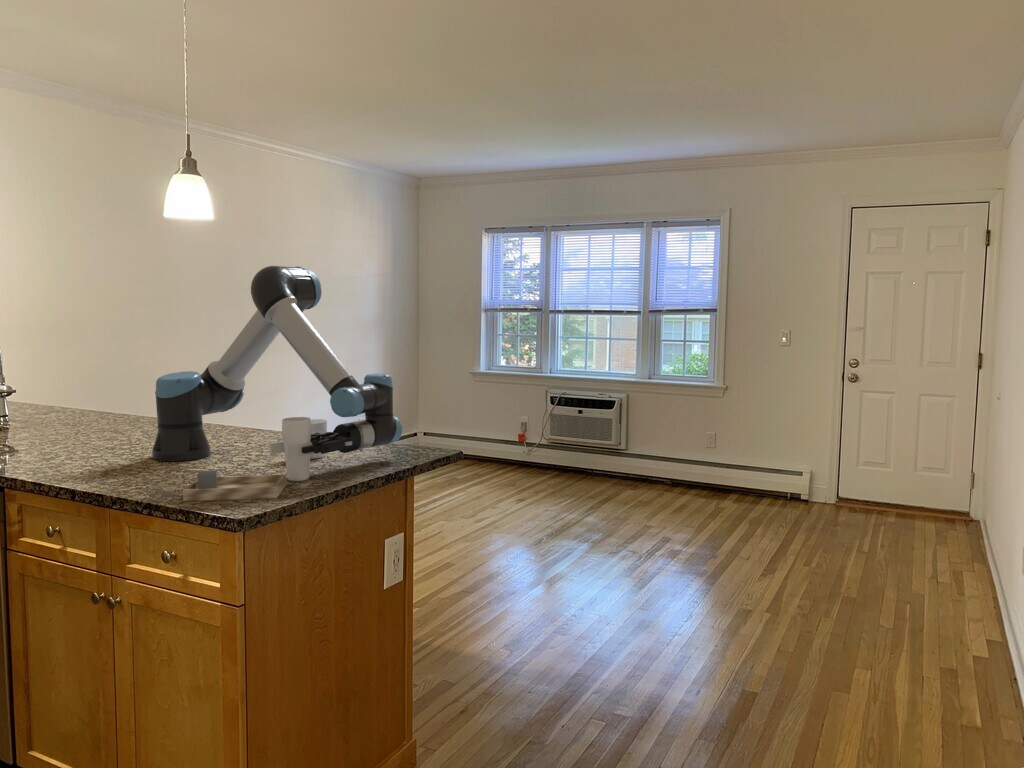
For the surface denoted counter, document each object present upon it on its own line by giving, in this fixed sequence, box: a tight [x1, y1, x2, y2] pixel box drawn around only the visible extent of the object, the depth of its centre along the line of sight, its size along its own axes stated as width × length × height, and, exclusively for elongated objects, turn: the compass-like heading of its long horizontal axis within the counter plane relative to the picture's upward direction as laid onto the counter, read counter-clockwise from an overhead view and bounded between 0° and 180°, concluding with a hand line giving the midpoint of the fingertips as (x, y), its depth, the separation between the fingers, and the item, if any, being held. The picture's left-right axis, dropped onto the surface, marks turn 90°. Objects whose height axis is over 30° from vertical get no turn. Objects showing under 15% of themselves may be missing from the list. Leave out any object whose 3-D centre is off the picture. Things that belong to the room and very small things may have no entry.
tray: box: [182, 474, 288, 502], centre depth 182 cm, size 20×13×2 cm, turn 97°
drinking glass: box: [281, 416, 311, 482], centre depth 194 cm, size 7×7×15 cm
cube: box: [196, 469, 219, 489], centre depth 181 cm, size 4×4×4 cm
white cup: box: [310, 418, 328, 460], centre depth 223 cm, size 8×8×10 cm
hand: (280, 450), depth 190 cm, fingers closed on drinking glass, 6 cm apart
